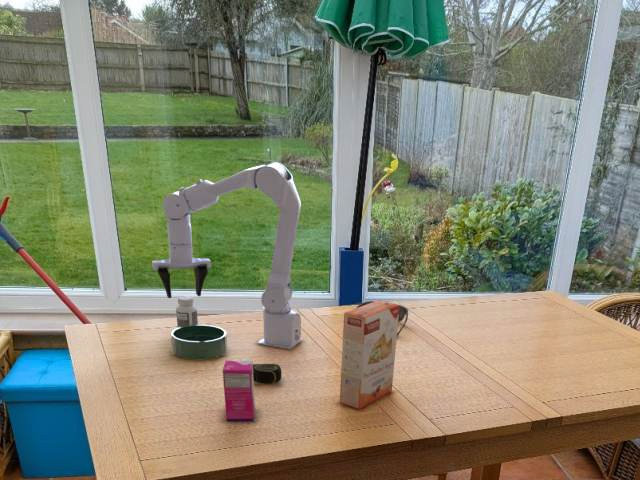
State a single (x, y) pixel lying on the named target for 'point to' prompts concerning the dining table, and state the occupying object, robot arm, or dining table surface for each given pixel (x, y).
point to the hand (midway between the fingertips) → (184, 296)
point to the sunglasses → (402, 313)
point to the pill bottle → (186, 312)
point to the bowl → (199, 342)
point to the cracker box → (368, 353)
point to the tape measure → (266, 373)
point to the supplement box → (239, 390)
